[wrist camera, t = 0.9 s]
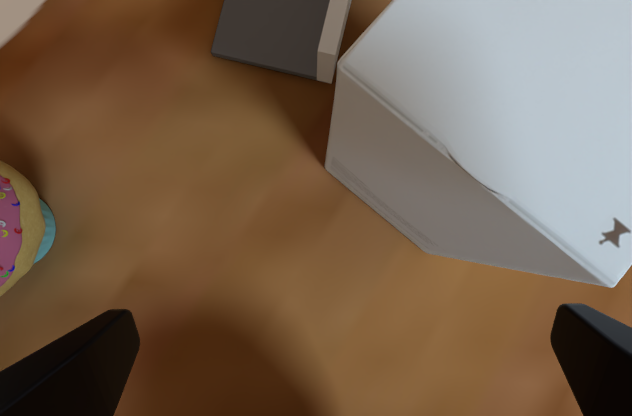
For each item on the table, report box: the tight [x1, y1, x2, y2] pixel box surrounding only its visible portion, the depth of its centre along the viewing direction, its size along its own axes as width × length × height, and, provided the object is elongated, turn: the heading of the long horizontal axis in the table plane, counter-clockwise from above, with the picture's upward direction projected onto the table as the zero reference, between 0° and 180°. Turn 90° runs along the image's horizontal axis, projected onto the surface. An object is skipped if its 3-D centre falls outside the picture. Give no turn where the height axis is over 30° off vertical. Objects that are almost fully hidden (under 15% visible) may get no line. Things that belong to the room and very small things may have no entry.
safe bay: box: [211, 0, 352, 84], centre depth 22 cm, size 10×29×4 cm, turn 77°
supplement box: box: [324, 0, 632, 288], centre depth 17 cm, size 9×9×15 cm
